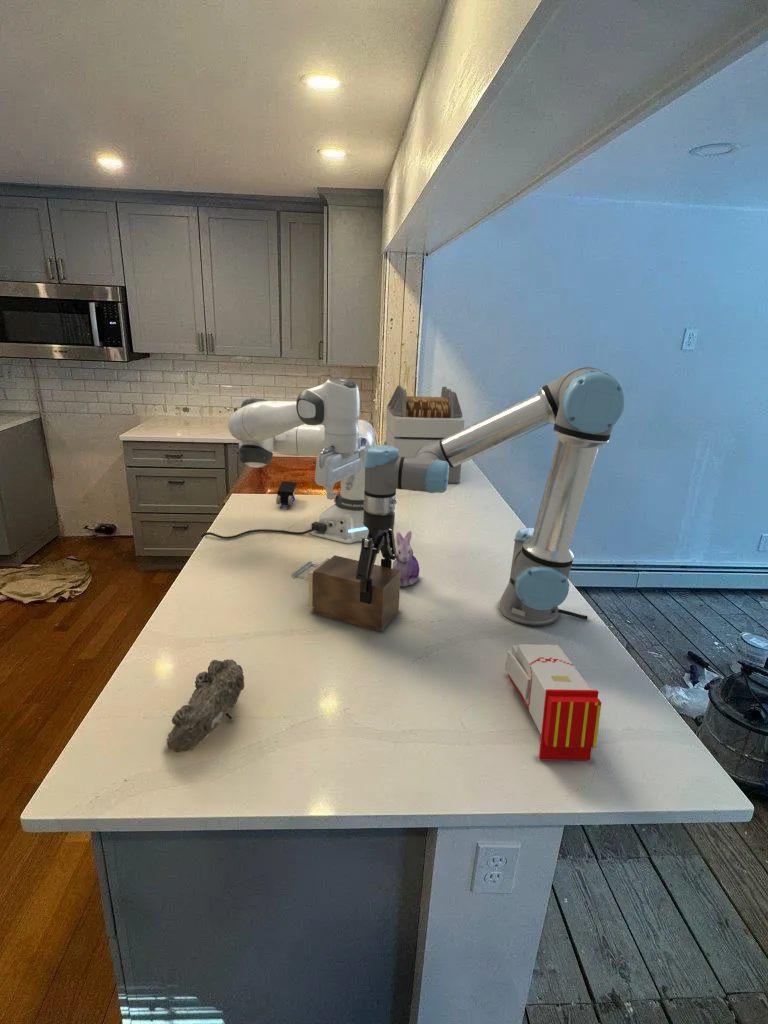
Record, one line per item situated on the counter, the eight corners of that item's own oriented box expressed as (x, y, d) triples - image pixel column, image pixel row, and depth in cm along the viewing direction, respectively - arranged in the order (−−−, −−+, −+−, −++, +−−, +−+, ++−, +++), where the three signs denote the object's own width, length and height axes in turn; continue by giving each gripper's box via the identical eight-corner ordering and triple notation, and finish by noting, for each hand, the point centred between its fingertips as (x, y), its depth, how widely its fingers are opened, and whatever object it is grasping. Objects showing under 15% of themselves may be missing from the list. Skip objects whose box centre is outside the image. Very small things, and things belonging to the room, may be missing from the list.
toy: (554, 627, 126) (611, 698, 97) (548, 682, 129) (602, 767, 99) (500, 626, 125) (540, 697, 96) (495, 681, 128) (534, 767, 99)
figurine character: (293, 513, 218) (297, 497, 231) (292, 495, 215) (297, 480, 228) (275, 513, 218) (281, 496, 231) (274, 495, 214) (280, 479, 228)
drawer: (290, 602, 149) (289, 567, 146) (309, 586, 158) (309, 554, 154) (370, 624, 140) (372, 588, 137) (386, 606, 149) (388, 572, 145)
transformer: (382, 463, 289) (386, 382, 275) (445, 464, 293) (451, 384, 279) (390, 482, 257) (394, 392, 243) (460, 483, 261) (468, 394, 247)
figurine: (399, 590, 159) (401, 541, 154) (382, 575, 168) (384, 528, 163) (427, 584, 164) (431, 536, 158) (410, 570, 172) (413, 524, 167)
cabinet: (313, 613, 146) (313, 571, 142) (334, 595, 156) (334, 555, 152) (381, 632, 139) (383, 588, 135) (398, 611, 148) (401, 570, 144)
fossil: (192, 660, 117) (244, 628, 112) (224, 691, 120) (276, 661, 115) (142, 746, 98) (202, 712, 93) (182, 779, 101) (242, 748, 96)
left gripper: (331, 452, 135) (330, 507, 140) (370, 437, 153) (368, 486, 158) (308, 448, 138) (308, 502, 143) (350, 434, 155) (348, 482, 160)
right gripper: (372, 529, 124) (369, 616, 131) (411, 499, 144) (406, 577, 152) (342, 522, 127) (340, 609, 134) (384, 494, 147) (381, 571, 154)
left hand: (340, 494), depth 150 cm, fingers open, 8 cm apart
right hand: (375, 592), depth 143 cm, fingers closed on cabinet, 11 cm apart
